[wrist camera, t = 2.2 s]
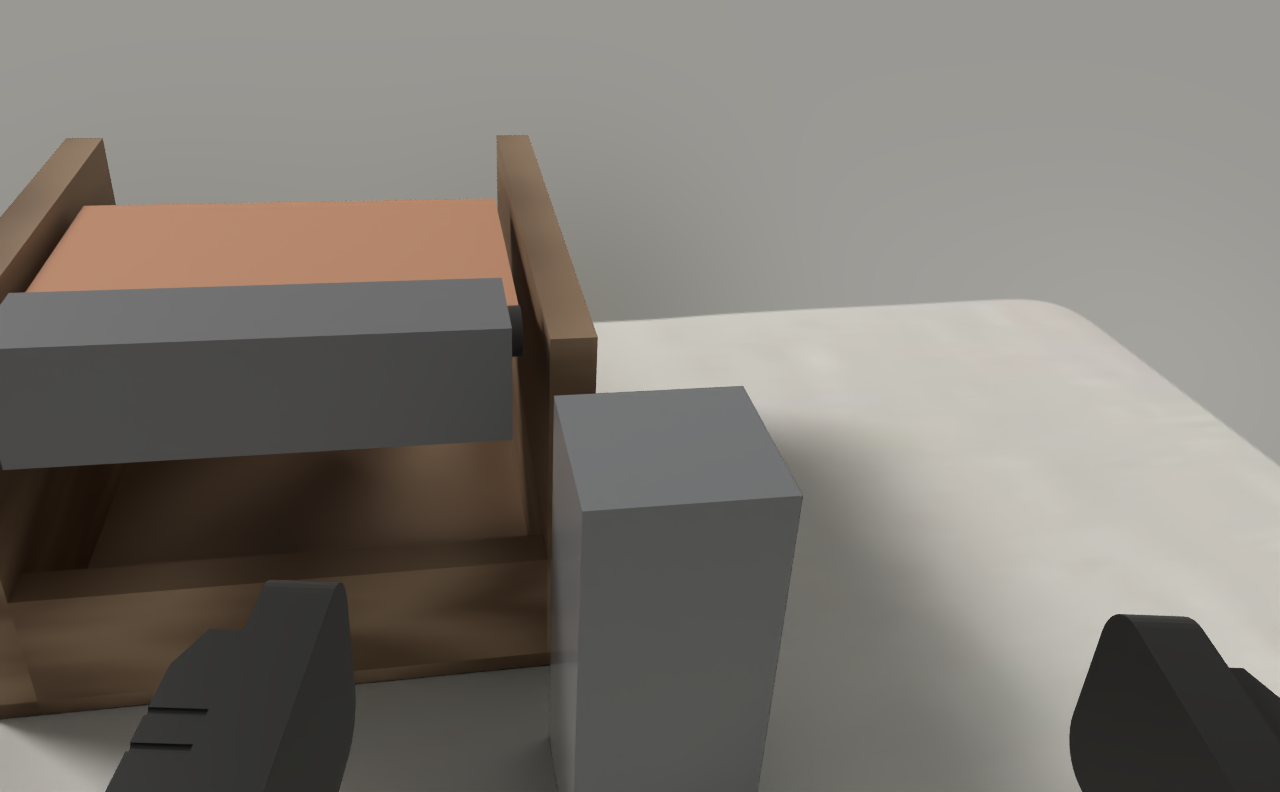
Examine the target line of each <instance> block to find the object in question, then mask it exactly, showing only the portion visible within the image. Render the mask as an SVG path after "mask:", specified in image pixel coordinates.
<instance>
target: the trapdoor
mask: <svg viewBox="0 0 1280 792" xmlns="http://www.w3.org/2000/svg"><path fill="white" fill-rule="evenodd" d="M522 355H523V324H522V313H521V307H520V305H518V300H517V296H516V291H515V287H514V282H513V278H512V274H511V269H510V265H509V260H508V256H507V251H506V247H505V242H504V238H503V233H502V229H501V224H500V220H499V215H498V211H497V206H496V202H495V199H444V200H391V201H390V200H386V201H333V202H331V201H330V202H274V203H218V204H161V205H160V204H159V205H101V206H83V208H82V209H81V210H80V212H79V213H78V215H77V216H76V218H75V219H74V221H73V222H72V224H71V225H70V227H69V228H68V230H67V231H66V233H65V234H64V236H63V237H62V239H61V240H60V242H59V243H58V245H57V246H56V248H55V249H54V251H53V252H52V253H51V255H50V256H49V258H48V259H47V261H46V262H45V264H44V265H43V267H42V268H41V270H40V271H39V273H38V274H37V276H36V277H35V279H34V280H33V282H32V283H31V285H30V286H29V288H28V289H27V291H26V292H25V293H8V295H7V296H6V297H5V299H4V300H3V302H2V303H1V305H0V461H1V465H2V468H3V470H13V469H30V468H47V467H64V466H80V465H97V464H114V463H131V462H148V461H165V460H182V459H199V458H216V457H233V456H250V455H266V454H283V453H300V452H317V451H334V450H351V449H368V448H385V447H402V446H419V445H436V444H453V443H469V442H486V441H503V440H513V408H512V357H519V356H522Z"/></svg>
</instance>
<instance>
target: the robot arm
mask: <svg viewBox="0 0 1280 792" xmlns="http://www.w3.org/2000/svg"><path fill="white" fill-rule="evenodd" d="M354 719H355V682H354V671H353V659H352V648H351V636H350V625H349V614H348V602H347V594H346V589H345V586H344V585H343V583H341V582H320V581H294V580H268V581H267V582H266V583H265V584H264V586H263V588H262V590H261V592H260V594H259V596H258V598H257V601H256V603H255V605H254V607H253V610H252V612H251V614H250V617H249V619H248V621H247V623H246V626H245V628H244V630H233V629H209V630H207V631H206V632H205V633H204V634H203V635H202V636H201V637H200V638H199V639H197V640H196V641H195V642H194V643H193V644H192V645H191V646H190V647H189V648H187V649H186V650H185V651H184V652H183V653H182V654H181V655H180V656H179V657H177V658H176V659H175V660H174V661H173V662H172V663H171V664H170V665H169V667H168V669H167V671H166V673H165V675H164V677H163V679H162V681H161V683H160V685H159V687H158V689H157V691H156V693H155V695H154V697H153V699H152V700H151V702H150V704H149V706H148V714H147V716H145V715H144V716H143V718H142V720H141V722H140V724H139V726H138V728H137V730H136V732H135V734H134V736H133V738H132V740H131V742H130V750H129V752H125V754H124V756H123V758H122V760H121V762H120V764H119V766H118V768H117V769H116V771H115V773H114V775H113V777H112V779H111V781H110V783H109V785H108V787H107V789H106V791H105V792H339V788H340V785H341V781H342V777H343V774H344V770H345V767H346V763H347V759H348V756H349V752H350V747H351V742H352V736H353V729H354ZM1070 754H1071V761H1072V766H1073V770H1074V773H1075V776H1076V779H1077V781H1078V783H1079V786H1080V788H1081V790H1082V792H1280V698H1279V697H1278V696H1277V695H1275V694H1274V693H1273V692H1272V691H1271V690H1269V689H1268V688H1267V687H1266V686H1264V685H1263V684H1262V683H1261V682H1259V681H1258V680H1257V679H1256V678H1255V677H1253V676H1252V675H1251V674H1250V673H1248V672H1247V671H1246V670H1245V669H1244V668H1229V667H1228V666H1227V664H1226V663H1225V661H1224V660H1223V658H1222V657H1221V655H1220V654H1219V653H1218V651H1217V650H1216V648H1215V647H1214V645H1213V644H1212V642H1211V641H1210V639H1209V638H1208V636H1207V635H1206V634H1205V632H1204V631H1203V629H1202V628H1201V627H1200V625H1199V624H1198V623H1197V622H1195V621H1194V620H1193V619H1191V618H1189V617H1180V616H1154V615H1127V614H1117V615H1114V616H1112V617H1111V618H1110V619H1109V620H1108V621H1107V623H1106V624H1105V626H1104V628H1103V631H1102V633H1101V636H1100V639H1099V642H1098V645H1097V648H1096V651H1095V653H1094V656H1093V659H1092V662H1091V665H1090V668H1089V671H1088V673H1087V676H1086V679H1085V682H1084V685H1083V688H1082V691H1081V693H1080V696H1079V699H1078V702H1077V705H1076V708H1075V711H1074V713H1073V717H1072V720H1071V726H1070Z"/></svg>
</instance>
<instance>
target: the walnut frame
mask: <svg viewBox="0 0 1280 792" xmlns="http://www.w3.org/2000/svg"><path fill="white" fill-rule="evenodd" d="M497 197H498V215H499V220H500V224H501V229H502V233H503V238H504V242H505V247H506V251H507V256H508V260H509V265H510V269H511V274H512V278H513V282H514V287H515V291H516V296H517V300H518V305H520V307H521V313H522V324H523V355H522V356H519V357H512V408H513V440H503V441H486V442H469V443H453V444H436V445H419V446H402V447H385V448H368V449H351V450H334V451H317V452H300V453H283V454H266V455H250V456H233V457H216V458H199V459H182V460H165V461H148V462H131V463H114V464H97V465H80V466H64V467H47V468H30V469H13V470H3V468H2V465H1V461H0V719H2V718H13V717H23V716H33V715H43V714H53V713H63V712H74V711H84V710H94V709H104V708H114V707H124V706H134V705H145V704H150V702H151V700H152V699H153V697H154V695H155V693H156V691H157V689H158V687H159V685H160V683H161V681H162V679H163V677H164V675H165V673H166V671H167V669H168V667H169V665H170V664H171V663H172V662H173V661H174V660H175V659H176V658H177V657H179V656H180V655H181V654H182V653H183V652H184V651H185V650H186V649H187V648H189V647H190V646H191V645H192V644H193V643H194V642H195V641H196V640H197V639H199V638H200V637H201V636H202V635H203V634H204V633H205V632H206V631H207V630H209V629H233V630H244V628H245V626H246V623H247V621H248V619H249V617H250V614H251V612H252V610H253V607H254V605H255V603H256V601H257V598H258V596H259V594H260V592H261V590H262V588H263V586H264V584H265V583H266V582H267V581H268V580H294V581H320V582H341V583H343V585H344V586H345V589H346V594H347V602H348V614H349V625H350V636H351V648H352V659H353V671H354V682H355V684H358V683H368V682H378V681H389V680H399V679H409V678H419V677H429V676H439V675H450V674H460V673H470V672H480V671H490V670H500V669H510V668H521V667H531V666H541V665H550V641H551V569H552V496H553V424H554V396H559V395H578V394H596V368H597V340H598V337H597V334H596V331H595V328H594V325H593V323H592V320H591V317H590V314H589V311H588V308H587V305H586V302H585V299H584V297H583V294H582V291H581V288H580V285H579V282H578V279H577V276H576V273H575V270H574V267H573V264H572V262H571V259H570V256H569V253H568V250H567V247H566V244H565V241H564V238H563V235H562V232H561V230H560V227H559V224H558V222H557V218H556V215H555V212H554V209H553V206H552V203H551V201H550V198H549V195H548V192H547V189H546V186H545V183H544V181H543V177H542V175H541V171H540V169H539V166H538V163H537V160H536V157H535V154H534V151H533V148H532V145H531V142H530V139H529V137H528V135H514V136H512V135H507V136H505V135H504V136H497ZM101 205H116V204H115V199H114V194H113V189H112V184H111V179H110V173H109V169H108V163H107V159H106V153H105V148H104V143H103V139H102V138H72V139H71V138H69V139H65V141H64V142H63V143H62V144H61V145H60V147H59V148H58V149H57V150H56V151H55V153H54V154H53V155H52V156H51V157H50V159H49V160H48V161H47V162H46V163H45V165H44V166H43V167H42V168H41V169H40V171H39V172H38V173H37V174H36V175H35V177H34V178H33V179H32V180H31V181H30V183H29V184H28V185H27V186H26V187H25V189H24V190H23V191H22V192H21V193H20V195H19V196H18V197H17V198H16V199H15V200H14V202H13V203H12V204H11V205H10V207H9V208H8V209H7V210H6V211H5V213H4V214H3V215H2V216H1V217H0V305H1V303H2V302H3V300H4V299H5V297H6V296H7V295H8V293H25V292H26V291H27V289H28V288H29V286H30V285H31V283H32V282H33V280H34V279H35V277H36V276H37V274H38V273H39V271H40V270H41V268H42V267H43V265H44V264H45V262H46V261H47V259H48V258H49V256H50V255H51V253H52V252H53V251H54V249H55V248H56V246H57V245H58V243H59V242H60V240H61V239H62V237H63V236H64V234H65V233H66V231H67V230H68V228H69V227H70V225H71V224H72V222H73V221H74V219H75V218H76V216H77V215H78V213H79V212H80V210H81V209H82V208H83V206H101Z"/></svg>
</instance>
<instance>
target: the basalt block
mask: <svg viewBox="0 0 1280 792" xmlns="http://www.w3.org/2000/svg"><path fill="white" fill-rule="evenodd" d="M802 498H803V495H802V493H801V491H800V489H799V488H798V486H797V484H796V482H795V480H794V478H793V477H792V475H791V473H790V471H789V469H788V467H787V466H786V464H785V462H784V460H783V458H782V456H781V455H780V453H779V451H778V449H777V447H776V445H775V444H774V442H773V440H772V438H771V436H770V434H769V433H768V431H767V429H766V427H765V425H764V423H763V422H762V420H761V418H760V416H759V414H758V412H757V411H756V409H755V407H754V405H753V403H752V401H751V400H750V398H749V396H748V394H747V392H746V390H745V389H744V387H743V386H733V387H714V388H694V389H675V390H655V391H636V392H617V393H597V394H578V395H559V396H554V424H553V496H552V569H551V641H550V714H549V738H550V745H551V751H552V758H553V764H554V770H555V777H556V783H557V789H558V792H758V785H759V779H760V772H761V766H762V759H763V753H764V746H765V740H766V733H767V727H768V720H769V714H770V707H771V701H772V694H773V687H774V681H775V674H776V668H777V661H778V655H779V648H780V642H781V635H782V629H783V622H784V616H785V609H786V603H787V596H788V589H789V583H790V576H791V570H792V563H793V557H794V550H795V544H796V537H797V531H798V524H799V518H800V511H801V505H802Z"/></svg>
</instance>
